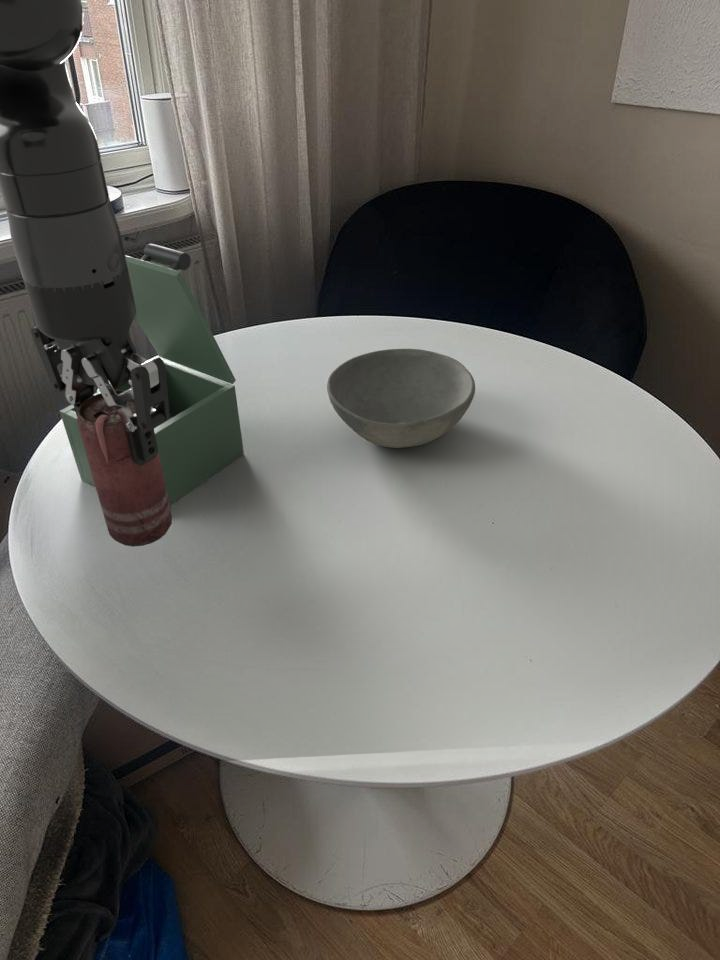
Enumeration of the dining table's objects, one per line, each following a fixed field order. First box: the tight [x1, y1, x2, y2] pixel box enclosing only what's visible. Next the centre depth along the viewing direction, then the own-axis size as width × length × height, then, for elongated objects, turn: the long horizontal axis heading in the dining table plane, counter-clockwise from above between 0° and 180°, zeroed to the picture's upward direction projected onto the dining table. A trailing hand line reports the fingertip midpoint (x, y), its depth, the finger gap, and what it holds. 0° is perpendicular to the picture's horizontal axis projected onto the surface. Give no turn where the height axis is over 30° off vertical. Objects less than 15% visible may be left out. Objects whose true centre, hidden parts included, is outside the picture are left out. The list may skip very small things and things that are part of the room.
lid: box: [125, 243, 237, 385], centre depth 90 cm, size 18×14×5 cm
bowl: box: [326, 348, 476, 449], centre depth 102 cm, size 21×21×8 cm
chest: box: [59, 357, 245, 506], centre depth 94 cm, size 17×14×11 cm
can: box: [77, 390, 173, 548], centre depth 65 cm, size 6×6×14 cm
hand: (120, 447), depth 63 cm, fingers closed on can, 6 cm apart
